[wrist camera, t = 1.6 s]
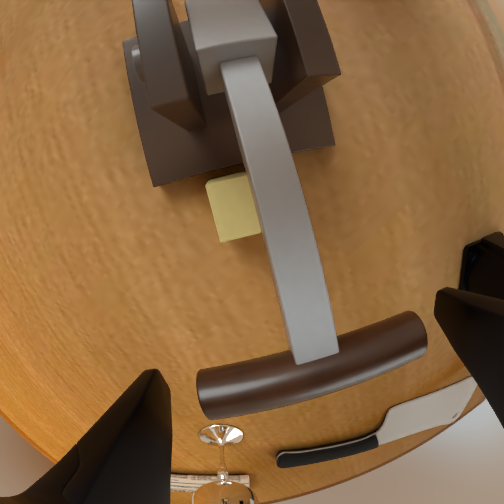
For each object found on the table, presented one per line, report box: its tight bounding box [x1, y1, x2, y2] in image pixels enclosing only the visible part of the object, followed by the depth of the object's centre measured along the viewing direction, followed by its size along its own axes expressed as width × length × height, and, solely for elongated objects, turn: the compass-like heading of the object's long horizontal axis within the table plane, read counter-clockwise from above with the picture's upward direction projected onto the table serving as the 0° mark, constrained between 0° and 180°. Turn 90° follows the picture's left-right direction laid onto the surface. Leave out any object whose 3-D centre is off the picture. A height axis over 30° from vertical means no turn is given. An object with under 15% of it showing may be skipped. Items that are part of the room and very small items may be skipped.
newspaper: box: [170, 473, 249, 492], centre depth 26 cm, size 24×7×2 cm, turn 88°
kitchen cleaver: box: [276, 376, 478, 468], centre depth 26 cm, size 31×2×10 cm
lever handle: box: [185, 0, 428, 420], centre depth 7 cm, size 12×6×2 cm, turn 12°
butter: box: [205, 171, 261, 242], centre depth 14 cm, size 3×4×2 cm
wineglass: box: [191, 425, 259, 504], centre depth 18 cm, size 6×6×12 cm
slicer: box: [123, 0, 341, 187], centre depth 9 cm, size 9×10×9 cm
